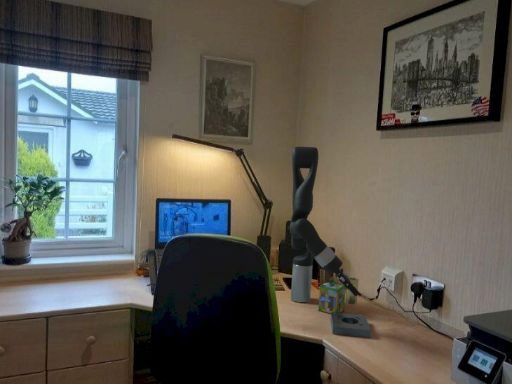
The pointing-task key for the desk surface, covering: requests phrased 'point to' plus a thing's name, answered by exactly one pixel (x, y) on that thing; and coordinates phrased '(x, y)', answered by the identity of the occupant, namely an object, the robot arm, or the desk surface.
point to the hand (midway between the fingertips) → (356, 292)
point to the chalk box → (331, 297)
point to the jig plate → (350, 325)
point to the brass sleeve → (349, 295)
